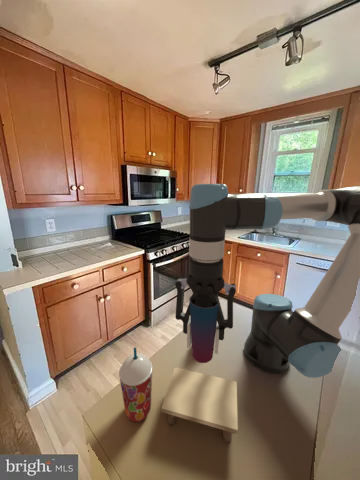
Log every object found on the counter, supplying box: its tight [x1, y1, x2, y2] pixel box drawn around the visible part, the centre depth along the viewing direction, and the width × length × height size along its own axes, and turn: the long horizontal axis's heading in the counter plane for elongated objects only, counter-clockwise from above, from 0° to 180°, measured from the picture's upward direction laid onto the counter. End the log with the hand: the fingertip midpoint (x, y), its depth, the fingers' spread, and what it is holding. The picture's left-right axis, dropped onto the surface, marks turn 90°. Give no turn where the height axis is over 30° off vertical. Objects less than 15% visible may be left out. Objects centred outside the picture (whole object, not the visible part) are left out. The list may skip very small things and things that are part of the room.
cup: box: [189, 295, 220, 364], centre depth 47 cm, size 7×7×15 cm
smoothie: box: [118, 347, 153, 423], centre depth 51 cm, size 8×8×20 cm
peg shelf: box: [160, 367, 239, 443], centre depth 52 cm, size 18×12×6 cm, turn 76°
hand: (202, 346), depth 49 cm, fingers closed on cup, 6 cm apart
